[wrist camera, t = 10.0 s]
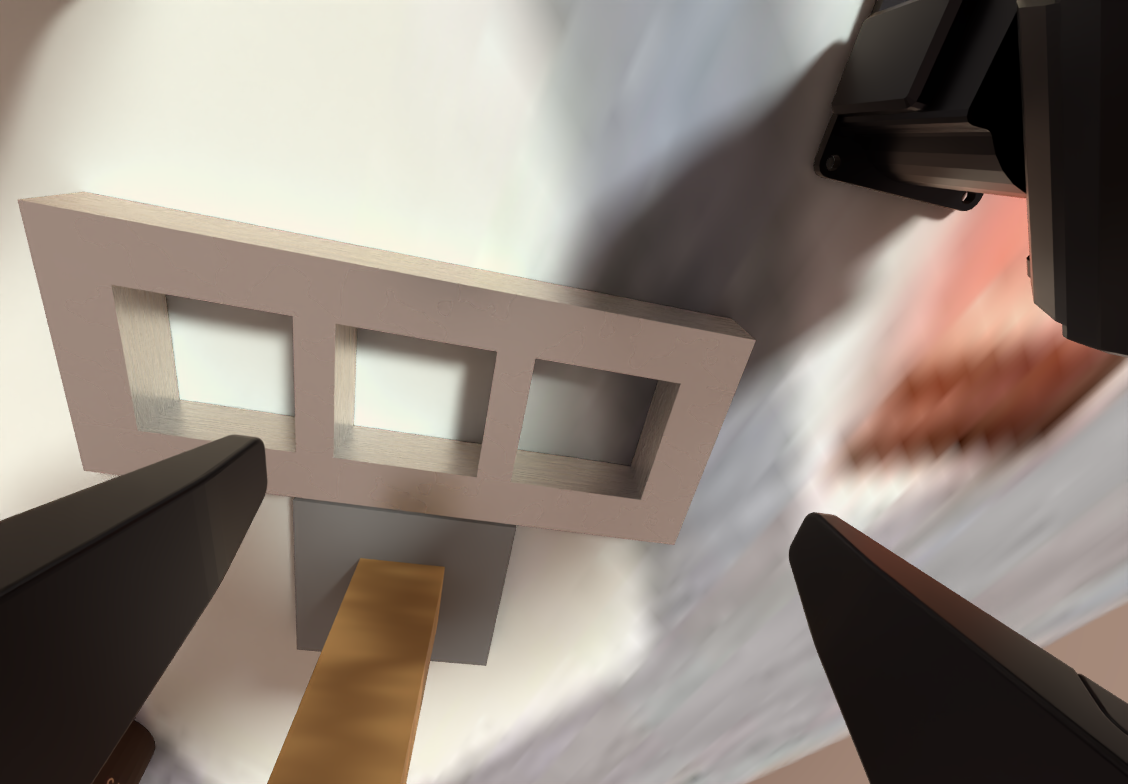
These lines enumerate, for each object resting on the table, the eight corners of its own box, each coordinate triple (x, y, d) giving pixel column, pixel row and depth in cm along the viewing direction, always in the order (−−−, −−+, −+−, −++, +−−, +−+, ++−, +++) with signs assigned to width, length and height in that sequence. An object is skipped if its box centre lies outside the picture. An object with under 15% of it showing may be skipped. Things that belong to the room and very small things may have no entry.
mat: (516, 514, 25) (516, 528, 24) (487, 649, 29) (486, 665, 28) (302, 486, 23) (292, 500, 22) (304, 632, 28) (297, 649, 27)
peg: (444, 566, 25) (395, 809, 16) (437, 623, 26) (388, 870, 17) (360, 558, 24) (258, 804, 15) (358, 616, 26) (266, 867, 17)
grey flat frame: (731, 318, 21) (755, 340, 19) (661, 508, 25) (674, 544, 23) (83, 191, 17) (17, 199, 15) (130, 436, 22) (83, 470, 19)
